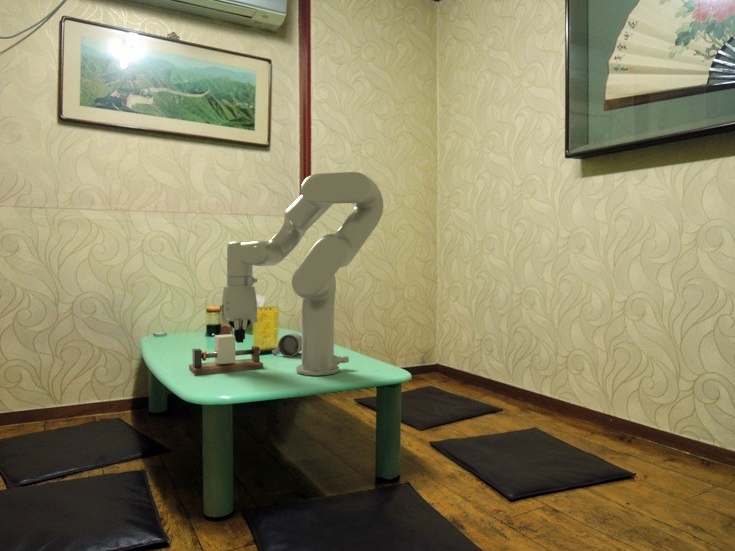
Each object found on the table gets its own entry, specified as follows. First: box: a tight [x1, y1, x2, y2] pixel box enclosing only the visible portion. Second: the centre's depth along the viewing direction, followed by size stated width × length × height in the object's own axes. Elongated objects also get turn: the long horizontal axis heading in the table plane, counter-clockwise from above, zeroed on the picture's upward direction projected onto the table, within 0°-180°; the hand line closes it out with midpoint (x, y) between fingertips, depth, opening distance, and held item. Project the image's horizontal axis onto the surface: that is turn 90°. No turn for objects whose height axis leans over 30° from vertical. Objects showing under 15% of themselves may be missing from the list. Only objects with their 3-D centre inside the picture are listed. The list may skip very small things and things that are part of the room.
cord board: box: [188, 345, 264, 376], centre depth 153 cm, size 20×9×6 cm, turn 119°
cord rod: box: [191, 348, 254, 368], centre depth 152 cm, size 18×3×5 cm, turn 119°
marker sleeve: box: [214, 333, 236, 364], centre depth 152 cm, size 5×5×8 cm
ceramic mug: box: [271, 332, 302, 358], centre depth 176 cm, size 11×8×8 cm
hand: (239, 342), depth 154 cm, fingers closed
